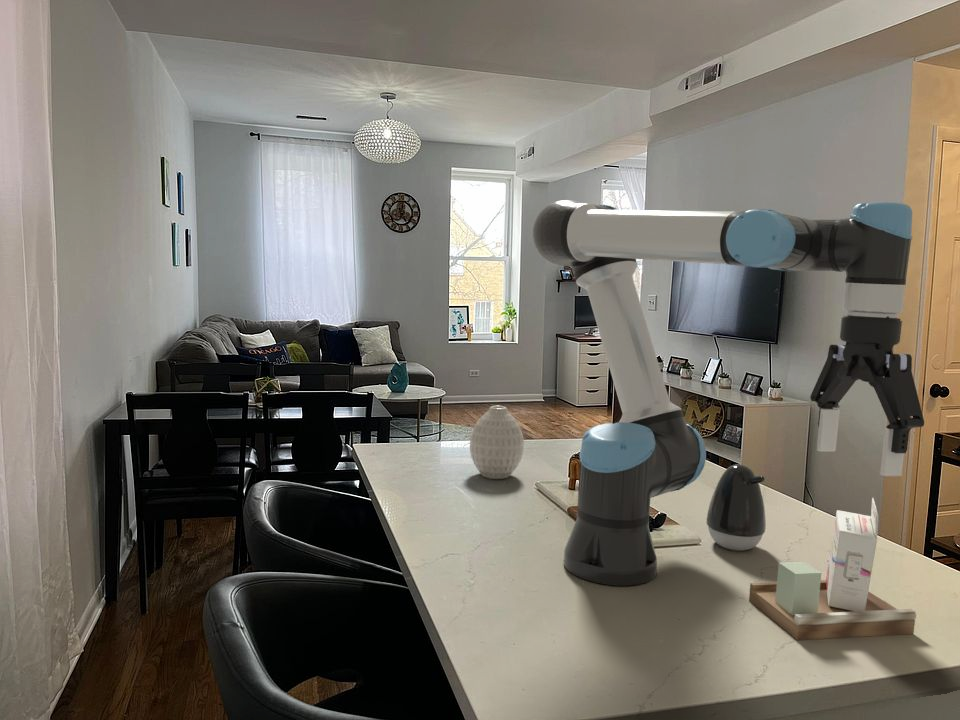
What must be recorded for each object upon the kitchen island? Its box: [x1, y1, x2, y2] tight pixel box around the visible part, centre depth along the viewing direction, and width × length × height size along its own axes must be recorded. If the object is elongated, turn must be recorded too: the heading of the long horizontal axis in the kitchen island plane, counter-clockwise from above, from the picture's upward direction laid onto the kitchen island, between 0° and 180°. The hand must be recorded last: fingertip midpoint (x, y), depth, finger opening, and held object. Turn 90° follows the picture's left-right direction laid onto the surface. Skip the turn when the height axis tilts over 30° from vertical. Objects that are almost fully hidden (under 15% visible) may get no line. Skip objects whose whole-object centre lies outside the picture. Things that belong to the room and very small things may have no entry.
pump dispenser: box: [705, 463, 767, 552], centre depth 132 cm, size 10×10×15 cm
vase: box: [469, 405, 525, 480], centre depth 173 cm, size 13×13×17 cm
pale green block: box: [775, 561, 822, 615], centre depth 103 cm, size 4×4×6 cm
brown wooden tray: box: [748, 579, 917, 641], centre depth 105 cm, size 18×12×3 cm
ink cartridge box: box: [825, 497, 879, 612], centre depth 105 cm, size 9×5×15 cm, turn 158°
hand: (856, 462), depth 105 cm, fingers open, 13 cm apart
